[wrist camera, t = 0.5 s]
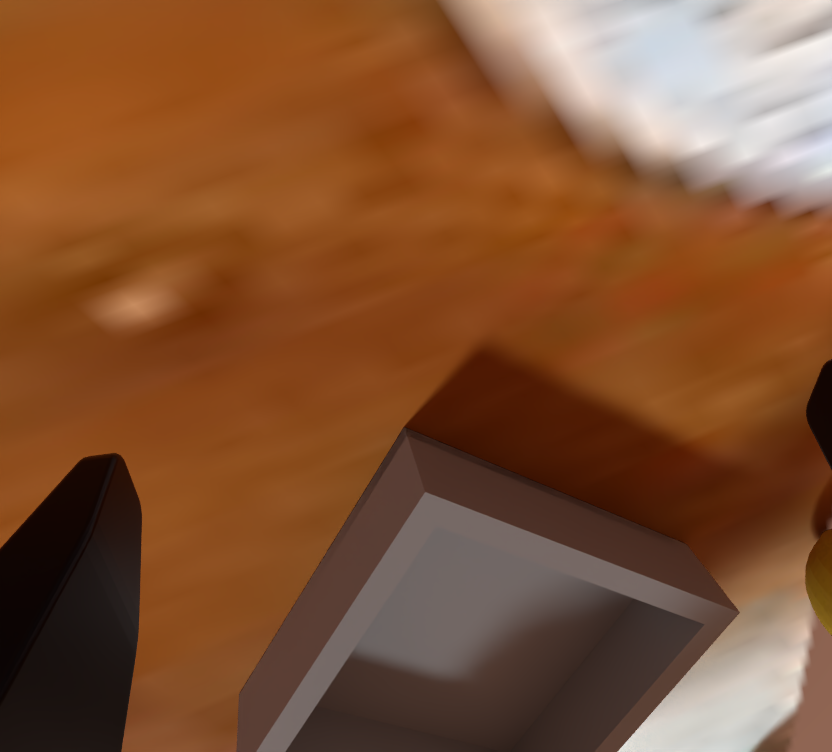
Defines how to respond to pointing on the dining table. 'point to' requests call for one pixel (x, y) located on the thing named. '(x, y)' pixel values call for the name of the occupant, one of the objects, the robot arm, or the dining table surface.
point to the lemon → (821, 579)
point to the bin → (479, 620)
